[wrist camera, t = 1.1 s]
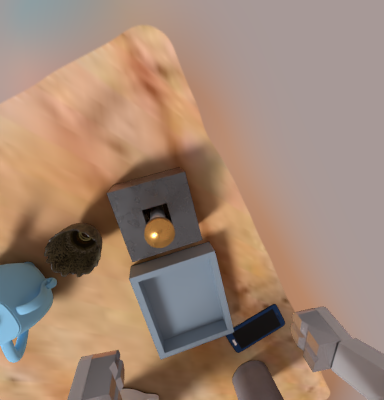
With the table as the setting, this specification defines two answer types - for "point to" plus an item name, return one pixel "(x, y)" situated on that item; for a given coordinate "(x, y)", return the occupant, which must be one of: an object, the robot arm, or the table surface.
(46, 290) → the teapot
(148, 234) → the pin
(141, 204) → the block
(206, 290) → the tray
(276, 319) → the cell phone
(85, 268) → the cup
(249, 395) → the pillar candle
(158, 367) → the table surface
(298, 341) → the robot arm
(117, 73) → the table surface
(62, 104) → the table surface
